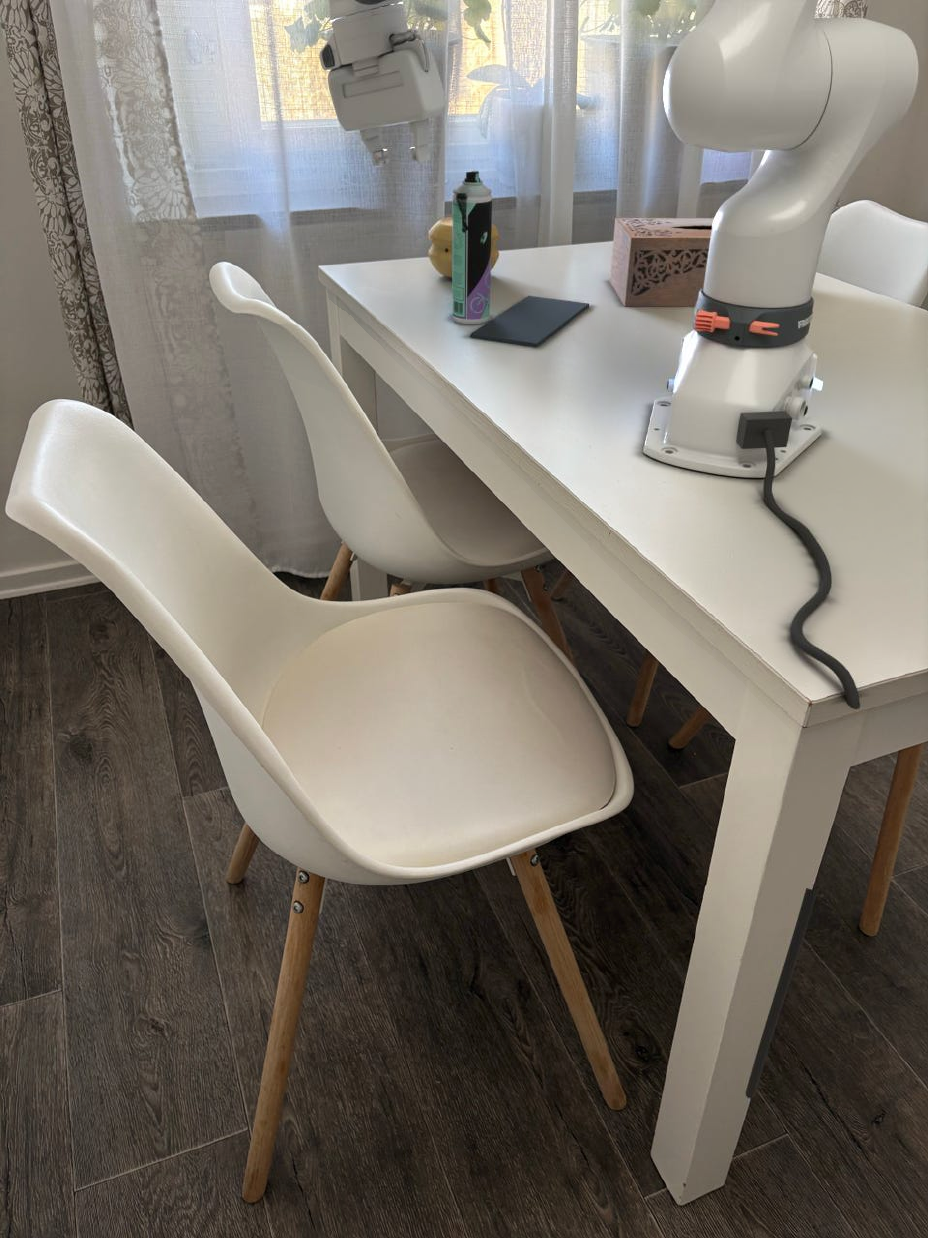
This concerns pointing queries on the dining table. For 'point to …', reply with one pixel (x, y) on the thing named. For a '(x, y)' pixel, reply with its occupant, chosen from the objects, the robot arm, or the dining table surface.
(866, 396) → the dining table surface
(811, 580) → the dining table surface
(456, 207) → the spray can
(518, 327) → the mat
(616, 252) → the tissue box cover
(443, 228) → the pot
